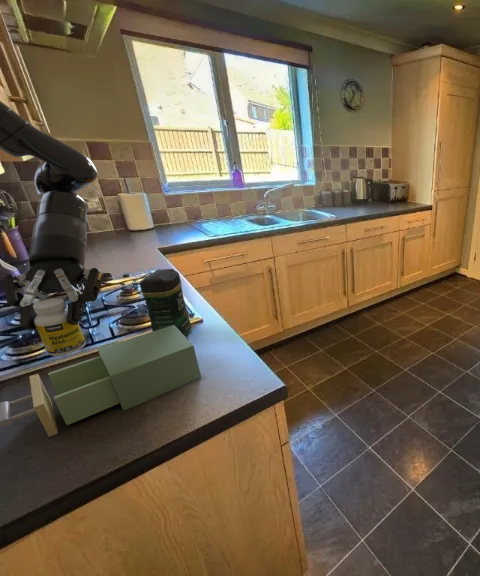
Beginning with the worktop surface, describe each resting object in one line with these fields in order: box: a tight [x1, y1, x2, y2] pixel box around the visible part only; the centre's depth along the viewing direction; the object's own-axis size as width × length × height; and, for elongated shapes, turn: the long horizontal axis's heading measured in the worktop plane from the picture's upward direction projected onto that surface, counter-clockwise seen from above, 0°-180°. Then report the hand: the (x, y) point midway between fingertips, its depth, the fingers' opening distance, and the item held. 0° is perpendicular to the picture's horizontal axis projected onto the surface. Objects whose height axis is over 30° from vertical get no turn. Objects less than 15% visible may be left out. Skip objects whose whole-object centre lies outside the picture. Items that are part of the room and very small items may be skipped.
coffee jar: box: [139, 268, 192, 338], centre depth 87 cm, size 10×8×19 cm
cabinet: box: [97, 325, 202, 411], centre depth 72 cm, size 15×13×9 cm
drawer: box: [0, 355, 120, 437], centre depth 63 cm, size 18×11×7 cm, turn 137°
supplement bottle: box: [33, 297, 87, 357], centre depth 60 cm, size 5×5×10 cm
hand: (51, 325), depth 58 cm, fingers closed on supplement bottle, 5 cm apart
